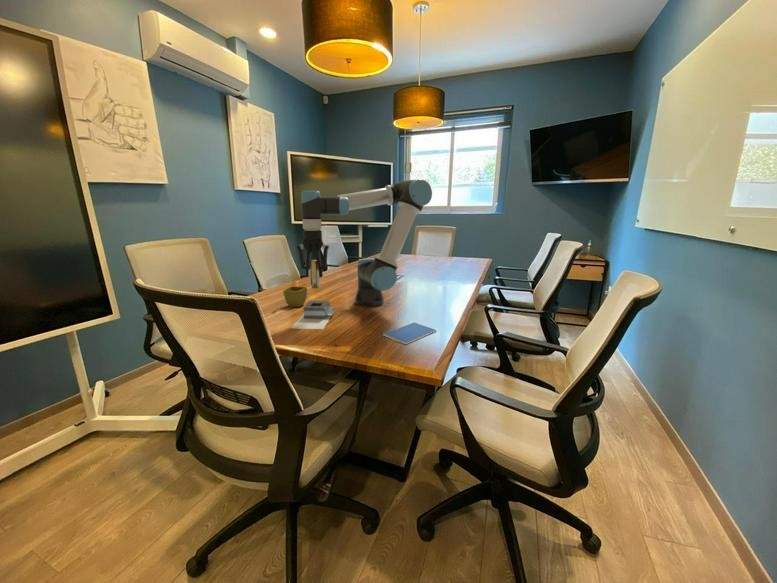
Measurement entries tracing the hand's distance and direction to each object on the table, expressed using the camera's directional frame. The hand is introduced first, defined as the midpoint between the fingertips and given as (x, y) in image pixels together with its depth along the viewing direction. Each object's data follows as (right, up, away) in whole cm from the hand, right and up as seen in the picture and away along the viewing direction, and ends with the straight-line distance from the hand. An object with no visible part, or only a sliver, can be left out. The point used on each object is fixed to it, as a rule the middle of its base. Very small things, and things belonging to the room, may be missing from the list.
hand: (315, 284), depth 140 cm
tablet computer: (+41, -20, -12) cm, 47 cm away
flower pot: (-14, -10, +22) cm, 28 cm away
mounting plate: (0, -16, -1) cm, 16 cm away
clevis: (+2, -13, +4) cm, 14 cm away
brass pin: (0, -1, 0) cm, 1 cm away
